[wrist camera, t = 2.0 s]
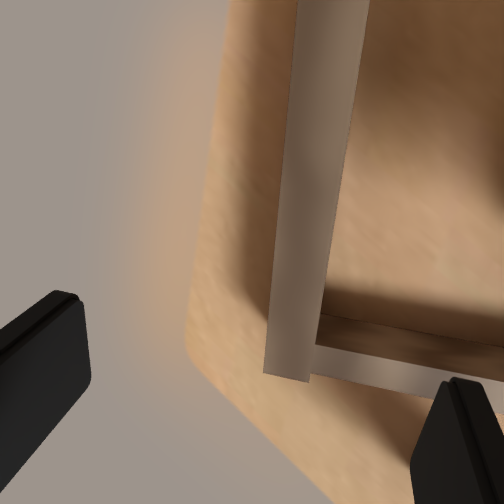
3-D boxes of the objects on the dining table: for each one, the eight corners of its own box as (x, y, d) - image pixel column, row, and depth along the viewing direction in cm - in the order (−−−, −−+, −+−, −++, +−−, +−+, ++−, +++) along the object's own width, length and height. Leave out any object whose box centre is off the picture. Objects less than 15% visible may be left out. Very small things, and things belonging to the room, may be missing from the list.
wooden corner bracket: (786, -17, 18) (930, -47, 13) (569, 389, 28) (609, 448, 23) (314, -27, 22) (302, -52, 17) (276, 331, 32) (262, 372, 27)
